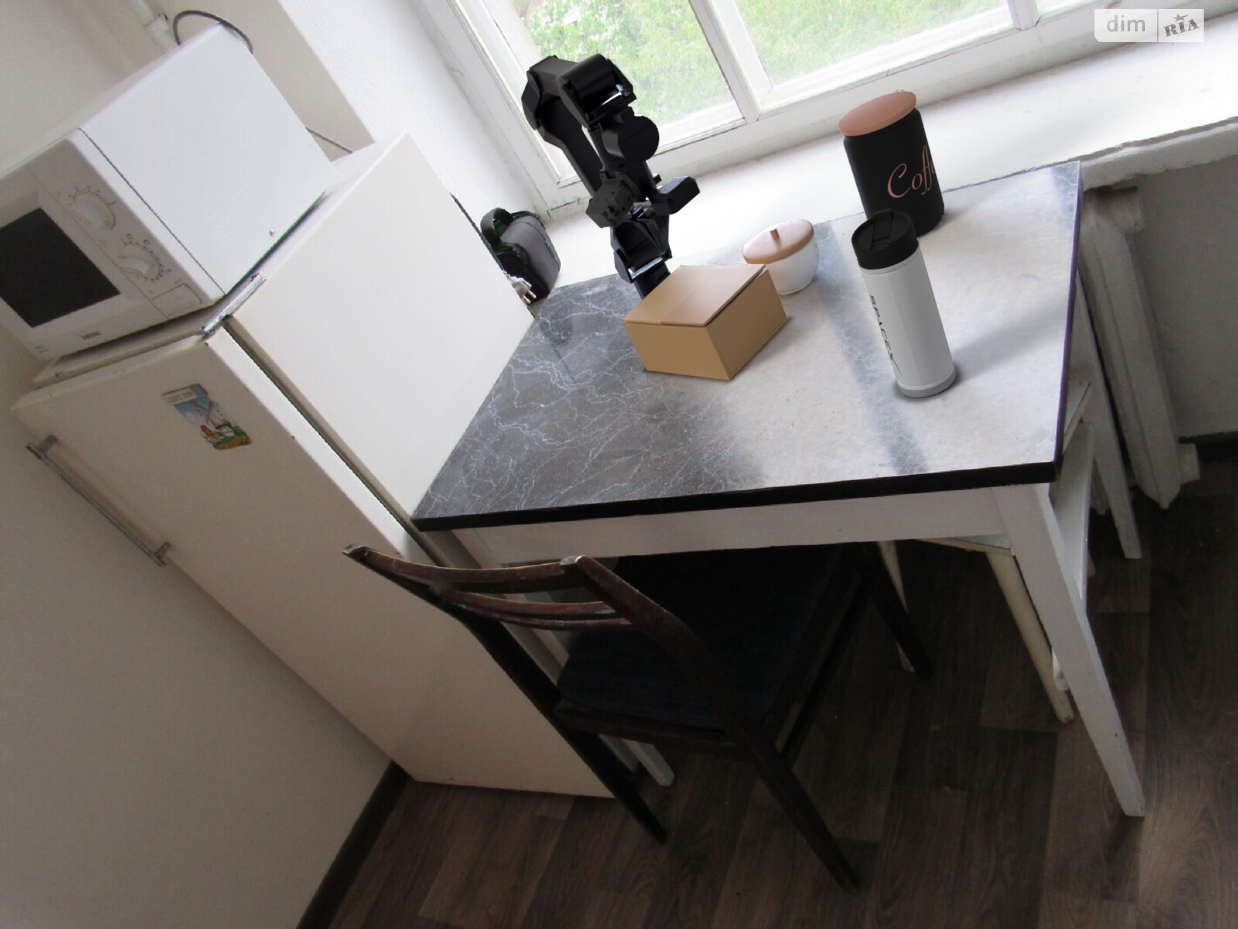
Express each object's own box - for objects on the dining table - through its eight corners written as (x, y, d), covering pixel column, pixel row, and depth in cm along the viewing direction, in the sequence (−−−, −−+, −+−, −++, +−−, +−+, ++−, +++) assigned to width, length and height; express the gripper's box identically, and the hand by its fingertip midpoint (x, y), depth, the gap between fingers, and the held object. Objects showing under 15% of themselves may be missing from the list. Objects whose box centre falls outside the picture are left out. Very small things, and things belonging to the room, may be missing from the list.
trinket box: (825, 255, 133) (805, 200, 128) (832, 286, 125) (811, 228, 120) (758, 280, 137) (737, 228, 132) (761, 312, 128) (738, 257, 123)
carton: (647, 370, 130) (620, 319, 125) (703, 315, 136) (680, 264, 131) (729, 380, 117) (703, 323, 112) (788, 319, 123) (765, 263, 118)
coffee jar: (907, 250, 123) (871, 131, 114) (858, 240, 132) (822, 129, 123) (963, 210, 125) (932, 89, 115) (911, 203, 134) (879, 90, 124)
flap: (622, 321, 126) (621, 318, 125) (681, 267, 131) (680, 265, 131) (661, 324, 119) (660, 321, 119) (721, 267, 125) (720, 265, 125)
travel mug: (957, 358, 99) (913, 200, 88) (955, 392, 94) (908, 230, 84) (901, 368, 102) (852, 217, 92) (897, 402, 97) (845, 247, 87)
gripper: (542, 187, 125) (590, 279, 133) (625, 178, 110) (673, 281, 119) (593, 147, 129) (637, 238, 137) (679, 133, 115) (722, 236, 123)
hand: (664, 249), depth 129 cm, fingers closed
